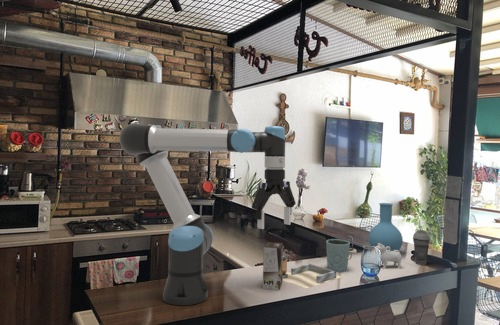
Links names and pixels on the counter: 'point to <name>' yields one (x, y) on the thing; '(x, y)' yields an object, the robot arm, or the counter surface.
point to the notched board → (310, 275)
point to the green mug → (337, 254)
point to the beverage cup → (421, 246)
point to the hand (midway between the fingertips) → (274, 226)
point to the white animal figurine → (389, 256)
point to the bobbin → (285, 266)
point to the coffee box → (273, 266)
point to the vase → (386, 230)
